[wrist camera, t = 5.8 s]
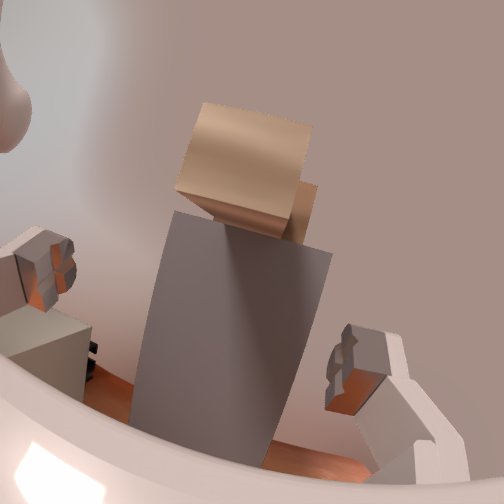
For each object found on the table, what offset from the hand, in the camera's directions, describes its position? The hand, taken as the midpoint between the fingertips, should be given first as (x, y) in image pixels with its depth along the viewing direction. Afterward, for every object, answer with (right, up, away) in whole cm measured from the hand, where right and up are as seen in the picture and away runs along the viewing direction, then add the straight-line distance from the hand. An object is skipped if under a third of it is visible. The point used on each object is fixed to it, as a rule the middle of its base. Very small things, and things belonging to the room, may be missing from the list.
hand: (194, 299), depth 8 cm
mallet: (+2, +3, +11) cm, 12 cm away
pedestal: (-5, -23, +16) cm, 28 cm away
